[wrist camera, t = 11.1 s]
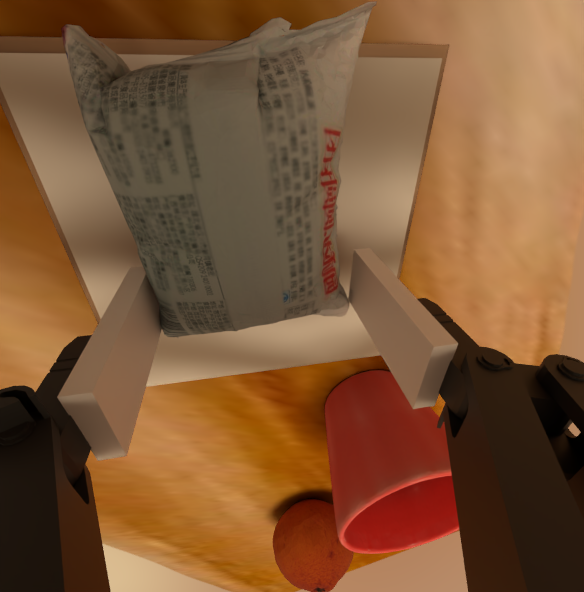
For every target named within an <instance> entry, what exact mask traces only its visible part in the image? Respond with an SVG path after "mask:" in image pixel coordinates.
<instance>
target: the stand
mask: <svg viewBox="0 0 584 592" xmlns="http://www.w3.org/2000/svg"><path fill="white" fill-rule="evenodd" d="M95 39H97V40H99V41H101V42H103V43H104V44H105V45H106V46H108V47H109V48H110V49H111V50H112V51H114V52H115V53H116V54H117V55H118V56H119V57H121V58H122V59H123V61H124V62H125V63H126V64H127V66H128V67H129V69H130V70H131V71H133V70H137V69H140V68H142V67H145V66H147V65H153V64H161V63H167V62H171V61H175V60H179V59H182V58H186V57H190V56H194V55H197V54H200V53H204V52H207V51H210V50H214V49H217V48H220V47H223V46H226V45H229V44H231V43H233V42H235V41H224V40H172V39H120V38H95ZM100 45H102V44H100ZM102 46H103V45H102ZM103 47H104V46H103ZM104 48H105V47H104ZM448 48H449V45H432V44H380V43H361V45H360V48H359V51H358V59H357V62H356V65H355V69H354V74H353V81H352V86H351V90H350V95H349V99H348V103H347V108H346V118H345V127H344V132H343V143H342V145H341V148H340V160H339V168H338V170H339V173H340V177H341V184H340V188H339V193H338V197H337V202H336V204H337V207H338V209H337V210H336V214H337V216H336V218H337V249H338V252H339V255H338V259H339V266H340V276H339V281H340V284H341V285H342V287H343V288H344V290H345V293H346V295H347V297H348V296H349V288H350V279H351V270H352V261H353V253H354V249H364V248H370V249H371V250H372V251H373V252H374V253H375V254H376V255H377V256H378V258H379V259H380V260H381V261H382V262H383V263H384V264H385V265H386V266H387V267H388V268H389V269H390V270H391V272H392V273H393V274H394V275H395V276H396V277H397V278H398V279H399V278H400V273H401V269H402V264H403V259H404V255H405V250H406V245H407V240H408V236H409V231H410V226H411V222H412V217H413V212H414V208H415V203H416V198H417V194H418V189H419V184H420V180H421V175H422V170H423V166H424V161H425V156H426V152H427V147H428V142H429V137H430V133H431V128H432V123H433V119H434V114H435V109H436V105H437V100H438V95H439V91H440V86H441V81H442V77H443V72H444V67H445V63H446V58H447V53H448ZM105 49H106V48H105ZM0 103H1V106H2V108H3V110H4V112H5V115H6V117H7V119H8V121H9V124H10V126H11V128H12V131H13V133H14V135H15V137H16V140H17V142H18V144H19V146H20V149H21V151H22V153H23V155H24V158H25V160H26V162H27V164H28V167H29V169H30V171H31V173H32V176H33V178H34V180H35V182H36V185H37V187H38V189H39V191H40V194H41V196H42V198H43V200H44V203H45V205H46V207H47V209H48V212H49V214H50V216H51V218H52V221H53V223H54V225H55V227H56V230H57V232H58V234H59V236H60V239H61V241H62V243H63V245H64V248H65V250H66V252H67V255H68V257H69V259H70V261H71V264H72V266H73V268H74V270H75V273H76V275H77V277H78V279H79V282H80V284H81V286H82V288H83V291H84V293H85V295H86V297H87V300H88V302H89V304H90V306H91V309H92V311H93V313H94V315H95V318H96V320H97V322H98V324H99V322H100V320H101V318H102V317H103V315H104V313H105V311H106V309H107V308H108V306H109V304H110V302H111V301H112V299H113V297H114V295H115V294H116V292H117V290H118V288H119V286H120V285H121V283H122V281H123V279H124V278H125V276H126V274H127V272H128V270H129V269H130V267H142V266H143V265H142V263H141V260H140V258H139V255H138V250H137V244H136V242H135V240H134V237H133V235H132V233H131V231H130V229H129V227H128V225H127V222H126V220H125V218H124V215H123V213H122V211H121V208H120V206H119V204H118V202H117V199H116V197H115V195H114V192H113V190H112V188H111V185H110V183H109V181H108V179H107V176H106V174H105V172H104V170H103V167H102V165H101V163H100V160H99V158H98V156H97V154H96V151H95V149H94V147H93V144H92V142H91V139H90V137H89V134H88V132H87V129H86V127H85V124H84V120H83V117H82V114H81V110H80V107H79V104H78V100H77V97H76V92H75V88H74V84H73V81H72V77H71V74H70V71H69V64H68V59H67V55H66V52H65V48H64V44H63V37H16V36H0ZM349 302H350V301H349ZM378 355H381V354H380V352H379V351H378V349H377V347H376V346H375V344H374V342H373V340H372V339H371V337H370V335H369V334H368V332H367V330H366V329H365V327H364V325H363V324H362V322H361V320H360V318H359V317H358V315H357V313H356V312H355V310H354V308H353V307H352V305H351V303H350V304H349V309H348V311H347V313H346V315H344V316H342V317H336V316H322V315H308V316H304V317H299V318H294V319H289V320H284V321H280V322H277V323H273V324H267V325H260V326H254V327H250V328H246V329H242V330H238V331H224V332H217V333H208V334H198V335H188V336H180V337H179V339H178V338H177V337H167V336H166V335H164V332H163V330H162V331H161V334H160V338H159V341H158V345H157V348H156V352H155V356H154V359H153V363H152V366H151V370H150V374H149V377H148V381H147V384H146V387H148V386H155V385H163V384H170V383H177V382H185V381H192V380H200V379H207V378H215V377H222V376H229V375H237V374H244V373H252V372H259V371H267V370H274V369H282V368H289V367H296V366H304V365H311V364H319V363H326V362H334V361H341V360H349V359H356V358H363V357H371V356H378Z"/></svg>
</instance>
